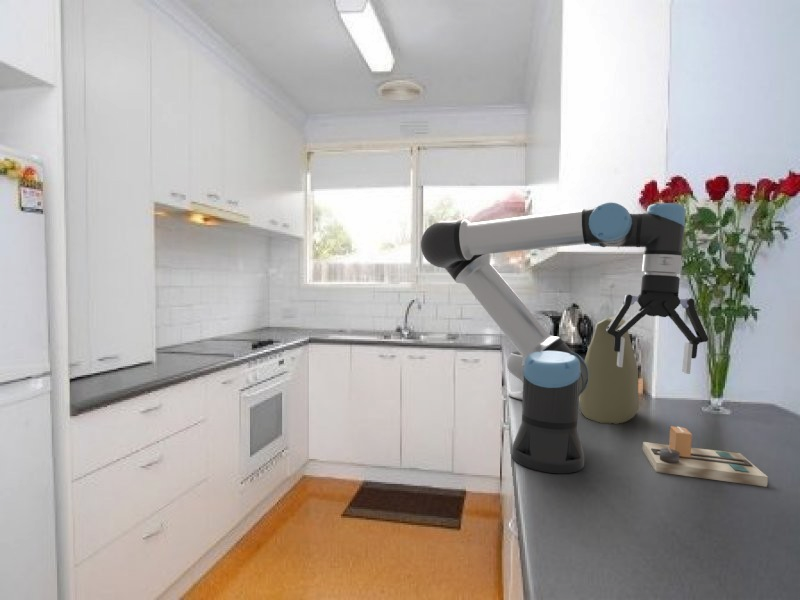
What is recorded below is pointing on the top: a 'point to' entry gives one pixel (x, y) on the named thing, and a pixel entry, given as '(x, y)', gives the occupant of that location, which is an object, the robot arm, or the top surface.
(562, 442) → the robot arm
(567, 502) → the top surface
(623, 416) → the container
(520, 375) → the chalice
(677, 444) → the fader knob
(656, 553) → the top surface
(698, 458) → the console
